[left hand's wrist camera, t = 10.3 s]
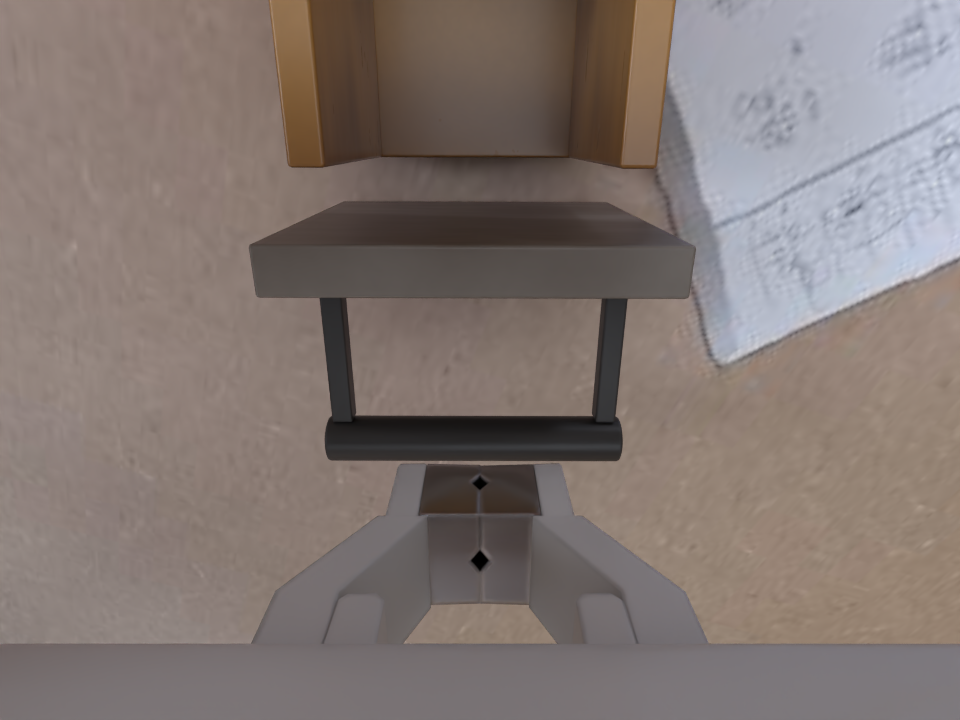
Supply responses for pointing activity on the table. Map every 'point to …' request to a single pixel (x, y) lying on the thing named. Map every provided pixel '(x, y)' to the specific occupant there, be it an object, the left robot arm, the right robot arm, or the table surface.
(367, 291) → the drawer
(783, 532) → the table surface
